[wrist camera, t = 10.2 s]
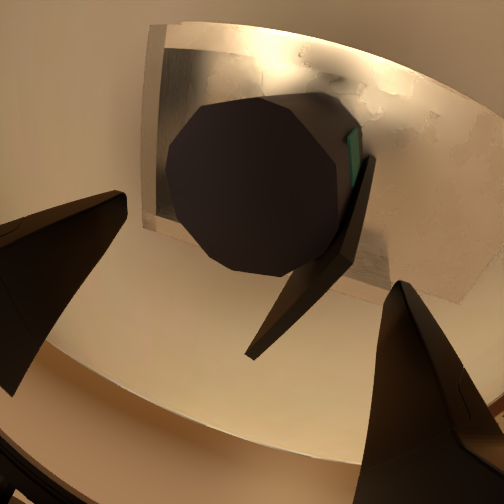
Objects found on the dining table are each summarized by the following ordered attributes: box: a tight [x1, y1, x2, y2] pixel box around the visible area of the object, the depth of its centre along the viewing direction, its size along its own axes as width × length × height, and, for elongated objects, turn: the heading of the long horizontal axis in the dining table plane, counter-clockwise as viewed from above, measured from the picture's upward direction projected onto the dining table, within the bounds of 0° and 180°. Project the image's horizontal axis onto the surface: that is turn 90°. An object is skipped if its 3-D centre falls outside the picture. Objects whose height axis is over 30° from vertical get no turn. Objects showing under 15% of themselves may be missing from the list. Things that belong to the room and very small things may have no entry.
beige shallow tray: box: [141, 21, 504, 306], centre depth 14 cm, size 22×13×4 cm, turn 80°
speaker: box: [165, 92, 376, 360], centre depth 11 cm, size 8×6×10 cm
